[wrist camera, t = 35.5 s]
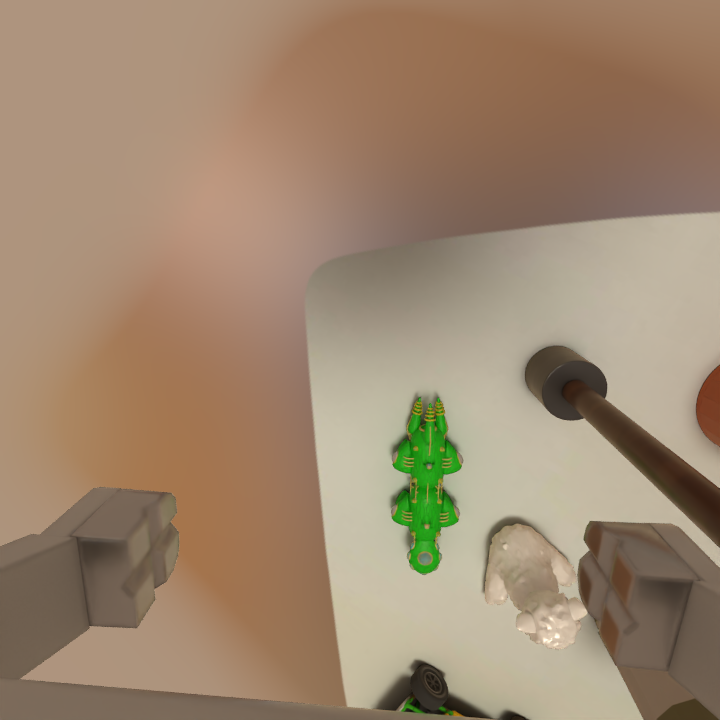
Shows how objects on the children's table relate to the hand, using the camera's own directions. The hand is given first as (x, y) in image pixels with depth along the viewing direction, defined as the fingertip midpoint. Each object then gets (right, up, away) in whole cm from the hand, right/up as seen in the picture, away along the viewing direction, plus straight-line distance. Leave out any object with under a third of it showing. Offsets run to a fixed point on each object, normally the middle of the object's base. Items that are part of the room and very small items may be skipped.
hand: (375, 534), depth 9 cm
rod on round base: (+18, +2, +34) cm, 38 cm away
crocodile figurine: (+6, -8, +38) cm, 39 cm away
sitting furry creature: (+16, -16, +39) cm, 45 cm away
